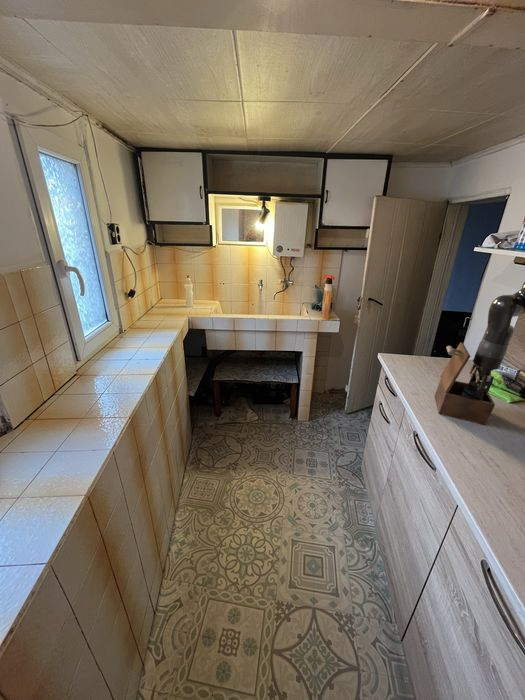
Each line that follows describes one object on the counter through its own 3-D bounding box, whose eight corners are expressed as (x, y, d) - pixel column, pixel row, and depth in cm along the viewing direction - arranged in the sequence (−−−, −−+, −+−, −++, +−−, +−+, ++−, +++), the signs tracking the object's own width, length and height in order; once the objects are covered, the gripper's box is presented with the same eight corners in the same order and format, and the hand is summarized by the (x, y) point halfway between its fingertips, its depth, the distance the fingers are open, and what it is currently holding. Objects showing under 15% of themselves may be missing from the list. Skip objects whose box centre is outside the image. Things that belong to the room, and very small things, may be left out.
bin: (476, 405, 109) (485, 386, 106) (485, 425, 99) (495, 404, 95) (434, 396, 114) (441, 377, 111) (438, 413, 104) (446, 393, 100)
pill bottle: (472, 417, 101) (483, 391, 97) (454, 408, 106) (463, 383, 101) (478, 411, 105) (490, 386, 100) (460, 403, 109) (470, 378, 104)
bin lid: (462, 342, 103) (447, 338, 104) (470, 356, 92) (453, 350, 94) (442, 377, 110) (428, 372, 112) (447, 393, 100) (432, 387, 101)
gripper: (511, 363, 88) (491, 406, 95) (497, 347, 100) (480, 386, 107) (482, 358, 91) (465, 400, 97) (472, 343, 103) (457, 381, 109)
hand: (473, 393), depth 102 cm, fingers open, 8 cm apart
